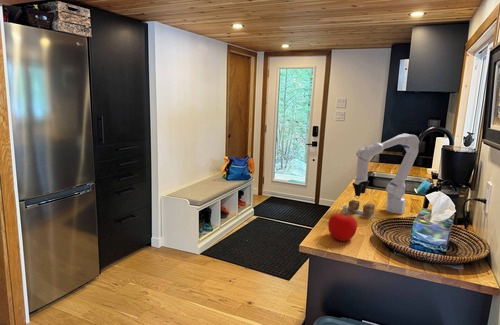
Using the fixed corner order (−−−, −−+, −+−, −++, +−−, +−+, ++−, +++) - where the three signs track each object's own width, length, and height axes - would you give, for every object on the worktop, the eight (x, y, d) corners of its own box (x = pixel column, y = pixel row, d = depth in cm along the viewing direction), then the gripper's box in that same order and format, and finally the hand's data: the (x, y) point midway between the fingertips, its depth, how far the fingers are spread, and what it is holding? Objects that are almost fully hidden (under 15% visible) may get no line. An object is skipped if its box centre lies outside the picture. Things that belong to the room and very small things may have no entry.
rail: (374, 216, 178) (375, 210, 178) (370, 220, 173) (371, 213, 172) (346, 209, 188) (346, 204, 187) (341, 212, 182) (341, 206, 182)
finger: (362, 215, 176) (363, 205, 175) (365, 213, 180) (366, 202, 179) (370, 217, 174) (371, 206, 173) (373, 215, 178) (374, 204, 177)
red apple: (325, 241, 144) (327, 216, 142) (329, 230, 157) (331, 207, 155) (354, 246, 140) (357, 220, 138) (356, 234, 153) (358, 211, 151)
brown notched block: (358, 212, 182) (359, 201, 181) (355, 214, 179) (356, 203, 177) (351, 210, 185) (352, 199, 184) (347, 212, 181) (348, 201, 180)
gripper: (359, 167, 189) (357, 190, 192) (350, 171, 178) (348, 196, 181) (372, 169, 185) (369, 193, 188) (363, 173, 174) (361, 198, 176)
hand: (360, 194), depth 184 cm, fingers open, 7 cm apart
